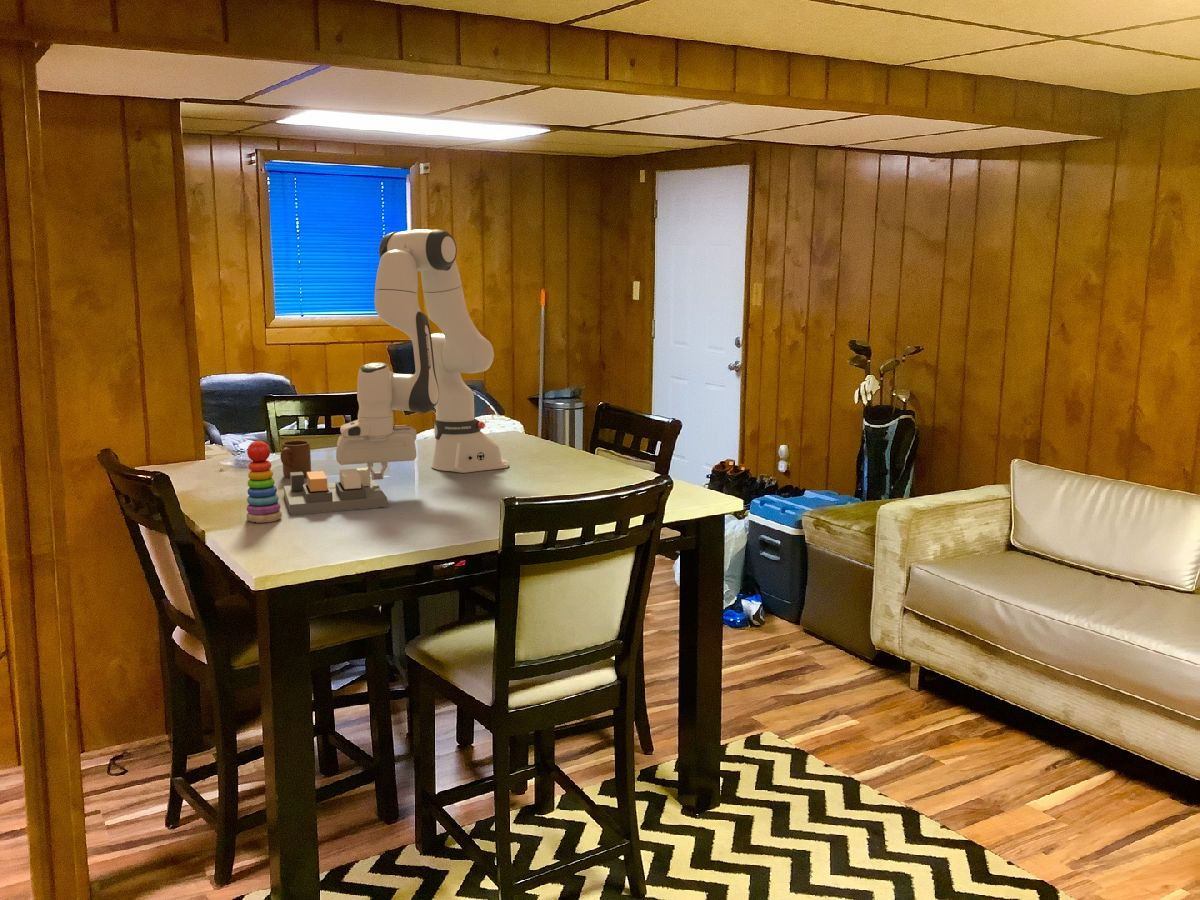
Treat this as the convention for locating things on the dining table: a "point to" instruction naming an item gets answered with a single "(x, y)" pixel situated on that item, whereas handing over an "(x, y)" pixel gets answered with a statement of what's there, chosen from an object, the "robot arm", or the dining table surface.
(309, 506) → the grey base platform
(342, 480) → the button
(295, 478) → the slider
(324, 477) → the button
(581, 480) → the dining table surface
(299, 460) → the mug
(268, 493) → the stacking toy
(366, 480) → the slider
